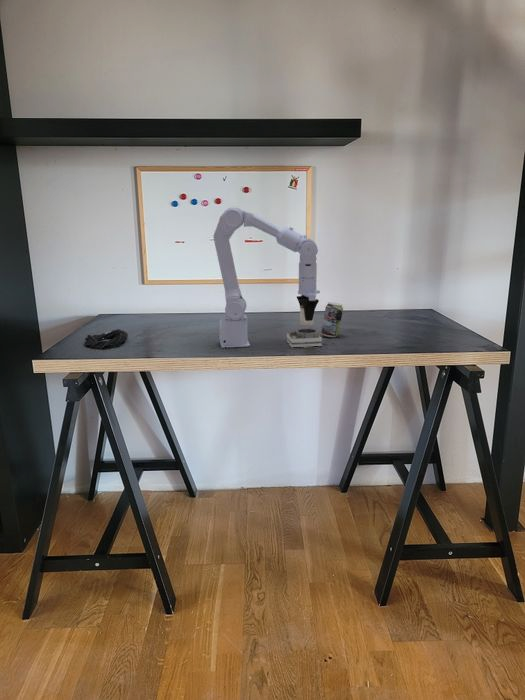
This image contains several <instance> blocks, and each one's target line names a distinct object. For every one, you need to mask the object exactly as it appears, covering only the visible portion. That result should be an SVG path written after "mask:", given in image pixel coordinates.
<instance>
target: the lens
mask: <svg viewBox="0 0 525 700" xmlns="http://www.w3.org/2000/svg"><path fill="white" fill-rule="evenodd" d="M314 317H315V315H314V316H313V320H312V321H306V320H305V314H304V308H303V305H300V304H299V321H300V322H299V323H300V325H302V326H311V325H312V326H313V325H314V322H315V321H314V320H315V319H314Z"/></svg>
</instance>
